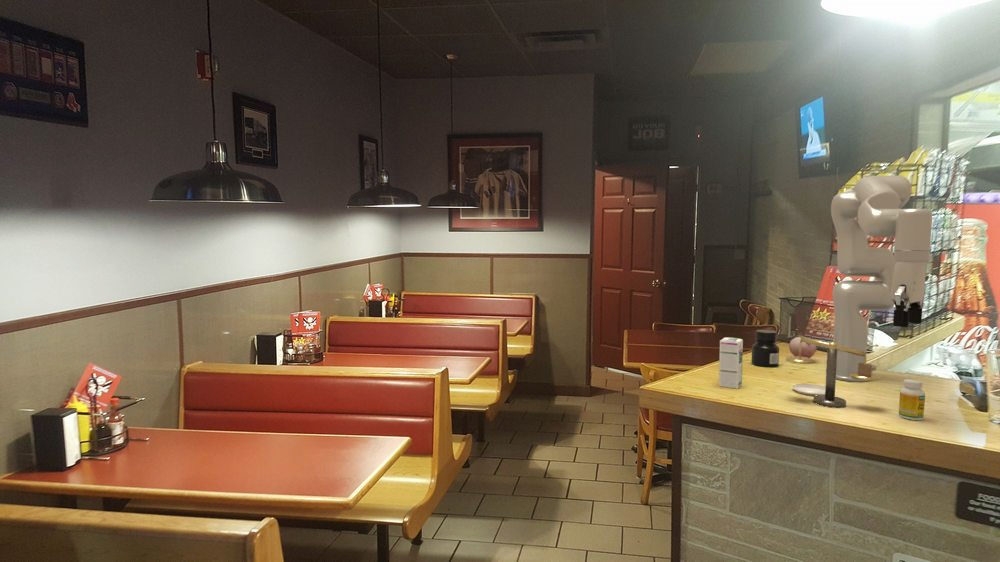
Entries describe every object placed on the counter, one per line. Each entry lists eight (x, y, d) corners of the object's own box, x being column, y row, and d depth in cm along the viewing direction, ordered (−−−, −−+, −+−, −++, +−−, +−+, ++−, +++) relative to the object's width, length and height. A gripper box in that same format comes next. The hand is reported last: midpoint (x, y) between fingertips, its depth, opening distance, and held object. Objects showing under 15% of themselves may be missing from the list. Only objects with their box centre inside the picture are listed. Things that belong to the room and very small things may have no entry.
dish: (813, 385, 189) (813, 382, 189) (842, 395, 178) (843, 392, 178) (783, 388, 185) (784, 385, 185) (812, 398, 175) (812, 394, 175)
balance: (784, 394, 179) (787, 333, 177) (876, 405, 168) (880, 340, 167) (783, 401, 172) (786, 337, 170) (878, 413, 161) (883, 345, 159)
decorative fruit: (783, 358, 228) (784, 332, 227) (804, 358, 229) (805, 331, 228) (798, 364, 219) (799, 336, 218) (819, 363, 220) (821, 336, 219)
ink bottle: (778, 368, 211) (779, 334, 210) (750, 366, 215) (751, 332, 214) (778, 363, 220) (780, 330, 219) (752, 360, 224) (753, 328, 223)
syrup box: (738, 389, 185) (740, 341, 183) (717, 386, 188) (719, 339, 186) (742, 385, 189) (743, 338, 188) (722, 382, 192) (723, 336, 191)
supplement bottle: (901, 413, 161) (903, 377, 161) (925, 417, 158) (928, 381, 157) (895, 417, 158) (898, 380, 157) (920, 422, 154) (923, 384, 153)
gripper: (906, 256, 164) (902, 320, 165) (882, 257, 153) (878, 326, 154) (939, 257, 158) (935, 323, 159) (917, 259, 147) (912, 329, 148)
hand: (907, 324), depth 157 cm, fingers open, 9 cm apart
